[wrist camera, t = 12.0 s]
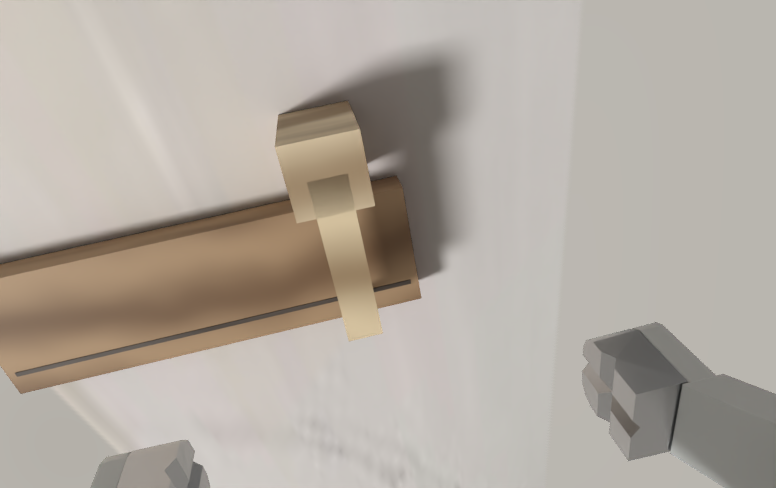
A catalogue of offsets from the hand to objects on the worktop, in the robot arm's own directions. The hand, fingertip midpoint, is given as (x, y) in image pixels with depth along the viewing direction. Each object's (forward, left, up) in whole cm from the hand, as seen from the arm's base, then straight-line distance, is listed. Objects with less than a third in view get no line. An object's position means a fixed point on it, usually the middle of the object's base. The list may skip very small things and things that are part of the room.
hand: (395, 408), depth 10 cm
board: (+8, -10, -22) cm, 25 cm away
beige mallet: (+5, -1, -22) cm, 22 cm away
